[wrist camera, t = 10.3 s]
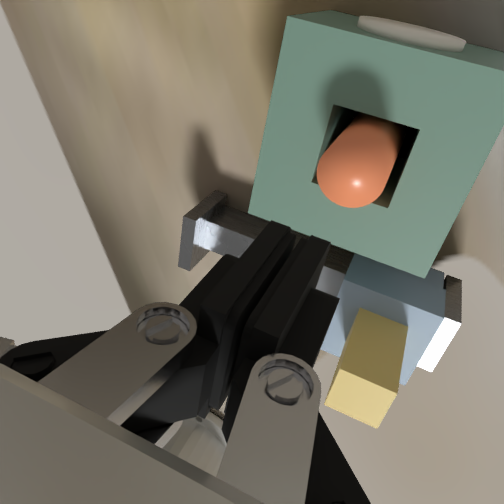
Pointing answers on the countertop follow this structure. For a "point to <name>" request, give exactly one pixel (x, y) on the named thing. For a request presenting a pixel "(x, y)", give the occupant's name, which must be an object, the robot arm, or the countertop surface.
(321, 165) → the orange peg
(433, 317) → the carriage
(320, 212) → the green box
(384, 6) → the countertop surface
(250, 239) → the rail
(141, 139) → the countertop surface
